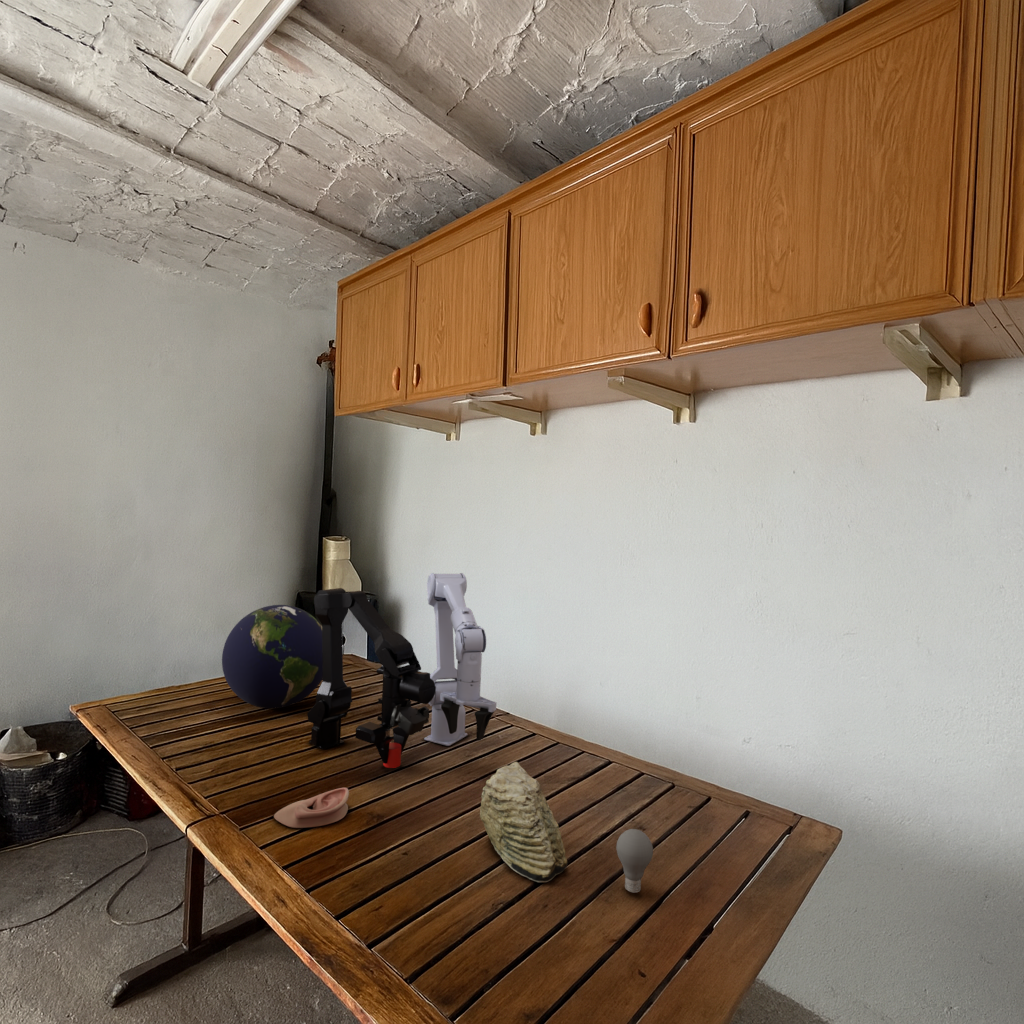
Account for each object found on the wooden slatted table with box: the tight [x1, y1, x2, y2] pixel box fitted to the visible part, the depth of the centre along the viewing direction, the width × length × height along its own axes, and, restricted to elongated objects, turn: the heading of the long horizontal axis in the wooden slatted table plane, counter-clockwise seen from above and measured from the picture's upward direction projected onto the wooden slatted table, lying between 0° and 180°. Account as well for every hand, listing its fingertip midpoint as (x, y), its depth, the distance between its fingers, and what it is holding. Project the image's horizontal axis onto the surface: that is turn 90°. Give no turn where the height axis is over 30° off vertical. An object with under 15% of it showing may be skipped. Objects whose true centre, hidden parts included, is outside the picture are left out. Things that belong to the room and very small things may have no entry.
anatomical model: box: [273, 787, 350, 829], centre depth 126 cm, size 13×4×12 cm
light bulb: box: [615, 828, 654, 894], centre depth 106 cm, size 6×6×10 cm
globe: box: [221, 604, 323, 709], centre depth 188 cm, size 30×30×30 cm
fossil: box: [479, 761, 569, 883], centre depth 114 cm, size 9×18×15 cm, turn 46°
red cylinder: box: [382, 742, 402, 769], centre depth 149 cm, size 4×4×4 cm
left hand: (391, 760), depth 149 cm, fingers closed on red cylinder, 4 cm apart
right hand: (466, 735), depth 151 cm, fingers open, 7 cm apart
